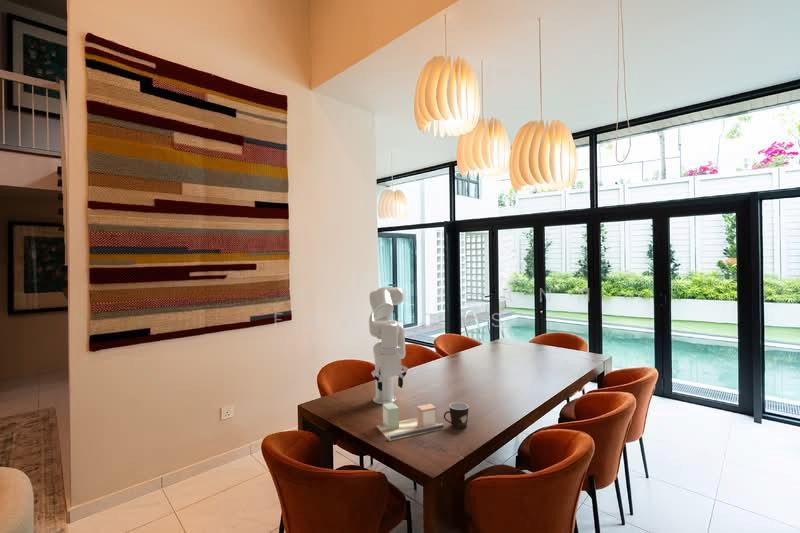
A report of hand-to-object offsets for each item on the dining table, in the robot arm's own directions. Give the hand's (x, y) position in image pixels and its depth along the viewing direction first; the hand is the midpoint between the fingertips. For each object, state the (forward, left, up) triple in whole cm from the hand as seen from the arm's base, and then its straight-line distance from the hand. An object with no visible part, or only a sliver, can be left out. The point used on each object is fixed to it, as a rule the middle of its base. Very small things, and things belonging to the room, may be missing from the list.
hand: (390, 388), depth 170 cm
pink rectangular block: (+8, +14, -17) cm, 23 cm away
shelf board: (+5, +7, -18) cm, 20 cm away
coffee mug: (+13, +26, -18) cm, 34 cm away
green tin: (0, 0, -17) cm, 17 cm away
